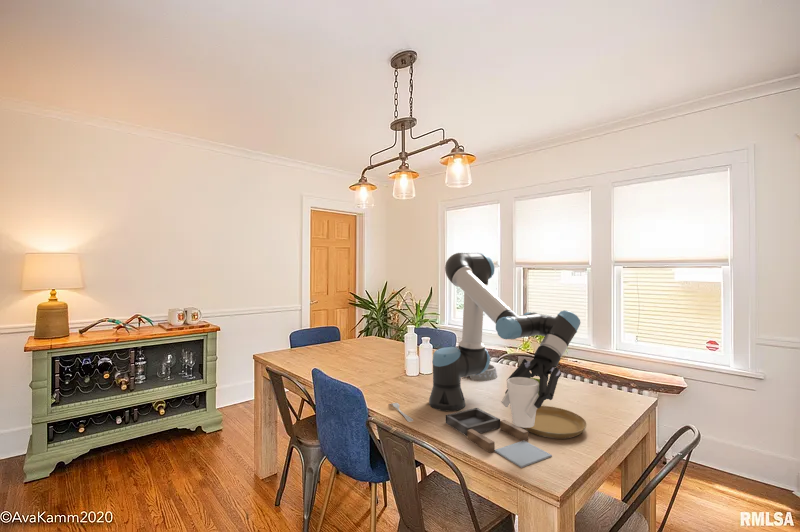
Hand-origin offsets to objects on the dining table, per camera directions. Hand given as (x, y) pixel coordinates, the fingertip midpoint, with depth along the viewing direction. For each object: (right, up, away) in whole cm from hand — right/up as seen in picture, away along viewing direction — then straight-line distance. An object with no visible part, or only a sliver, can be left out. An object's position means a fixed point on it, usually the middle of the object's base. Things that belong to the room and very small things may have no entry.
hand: (515, 409), depth 112 cm
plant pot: (+22, -15, +47) cm, 54 cm away
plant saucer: (+19, -15, +22) cm, 32 cm away
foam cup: (+3, -5, +1) cm, 6 cm away
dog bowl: (+8, -16, +86) cm, 87 cm away
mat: (+3, -14, +2) cm, 15 cm away
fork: (-35, -16, +36) cm, 53 cm away
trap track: (-6, -15, +17) cm, 24 cm away
